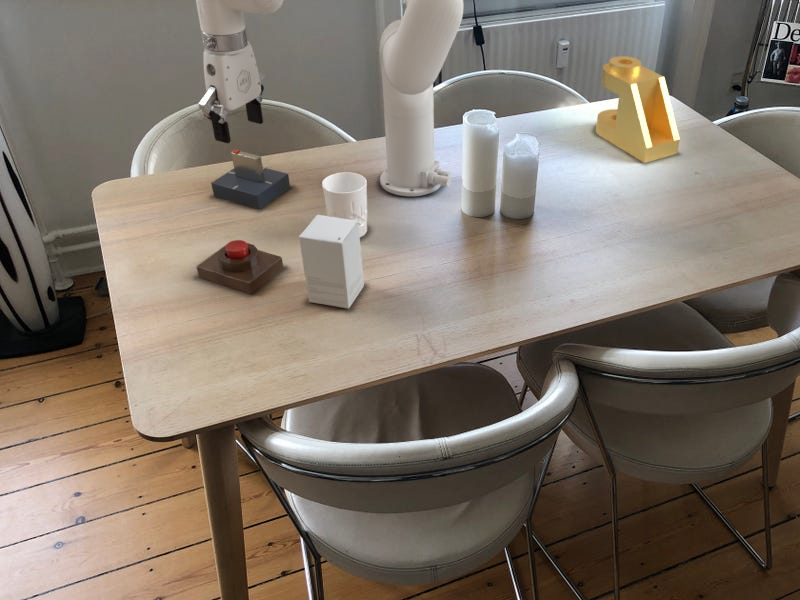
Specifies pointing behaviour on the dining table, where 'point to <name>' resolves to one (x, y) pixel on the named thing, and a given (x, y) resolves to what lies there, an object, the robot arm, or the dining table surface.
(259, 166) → the tan upright tile
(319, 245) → the white packaging box
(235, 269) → the block
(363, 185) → the white cup
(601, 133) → the yellow mounting bracket
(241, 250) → the release button
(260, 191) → the dial block
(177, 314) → the dining table surface
